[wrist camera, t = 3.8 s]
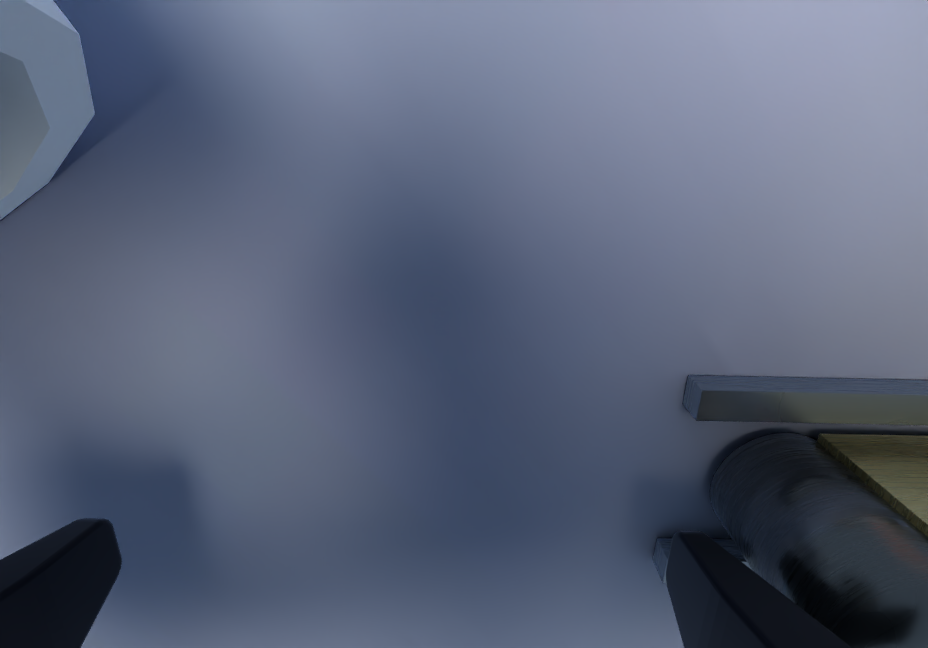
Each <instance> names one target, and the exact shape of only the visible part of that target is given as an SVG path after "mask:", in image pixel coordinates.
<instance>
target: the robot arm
mask: <svg viewBox="0 0 928 648" xmlns="http://www.w3.org/2000/svg"><path fill="white" fill-rule="evenodd" d="M121 563H122V558H121V554H120V550H119V547H118V543H117V539H116V536H115V532H114V529H113V526H112V524H111V522H110V521H109V520H106V519H95V518H84V519H79V520H76V521H74V522H72V523H70V524H68V525H66V526H65V527H63V528H61V529H59V530H57V531H55V532H53V533H51V534H49V535H47V536H45V537H43V538H41V539H39V540H38V541H36V542H34V543H32V544H30V545H28V546H26V547H24V548H22V549H20V550H18V551H16V552H14V553H13V554H11V555H9V556H7V557H5V558H3V559H1V560H0V648H81V646H82V644H83V642H84V640H85V638H86V636H87V634H88V632H89V631H90V629H91V627H92V625H93V623H94V621H95V619H96V617H97V615H98V613H99V611H100V609H101V608H102V606H103V604H104V602H105V600H106V598H107V596H108V594H109V592H110V590H111V588H112V586H113V585H114V583H115V581H116V579H117V577H118V575H119V572H120V569H121ZM666 582H667V587H668V591H669V595H670V598H671V602H672V605H673V609H674V612H675V616H676V620H677V623H678V627H679V630H680V634H681V638H682V641H683V645H684V648H852V647H851V646H849V645H848V644H847V643H846V642H844V641H843V640H842V639H840V638H839V637H838V636H837V635H835V634H834V633H833V632H831V631H830V630H829V629H828V628H826V627H825V626H824V625H822V624H821V623H820V622H819V621H817V620H816V619H815V618H813V617H812V616H811V615H809V614H808V613H807V612H806V611H804V610H803V609H802V608H800V607H799V606H798V605H797V604H795V603H794V602H793V601H791V600H790V599H789V598H788V597H786V596H785V595H784V594H782V593H781V592H780V591H779V590H777V589H776V588H775V587H773V586H772V585H771V584H769V583H768V582H767V581H766V580H764V579H763V578H762V577H760V576H759V575H758V574H757V573H755V572H754V571H753V570H751V569H750V568H749V567H748V566H746V565H745V564H744V563H742V562H741V561H740V560H739V559H737V558H736V557H735V556H733V555H732V554H731V553H729V552H728V551H727V550H726V549H724V548H723V547H722V546H720V545H719V544H718V543H717V542H715V541H714V540H713V539H711V538H710V537H709V536H708V535H706V534H705V533H703V532H700V531H677V532H676V533H675V534H674V535H673V538H672V542H671V547H670V552H669V557H668V562H667V567H666Z"/></svg>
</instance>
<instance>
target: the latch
mask: <svg viewBox="0 0 928 648" xmlns="http://www.w3.org/2000/svg"><path fill="white" fill-rule="evenodd" d="M710 501H711V505H712V508H713V510H714V512H715V514H716V516H717V517H718V519H719V520H720V522H721V523H722V525H723V526H724V528H725V529H726V531H727V532H728V534H729V535H730V537H731V538H732V540H733V541H734V543H735V544H736V546H737V548H738V549H739V551H740V552H741V554H742V555H743V557H744V558H745V560H746V561H747V563H748V564H749V566H750V567H751V569H752V570H753V571H754V572H755V573H757V574H758V575H759V576H760V577H762V578H763V579H764V580H766V581H767V582H768V583H769V584H771V585H772V586H773V587H775V588H776V589H777V590H779V591H780V592H781V593H782V594H784V595H785V596H786V597H788V598H789V599H790V600H791V601H793V602H794V603H795V604H797V605H798V606H799V607H800V608H802V609H803V610H804V611H806V612H807V613H808V614H809V615H811V616H812V617H813V618H815V619H816V620H817V621H819V622H820V623H821V624H822V625H824V626H825V627H826V628H828V629H829V630H830V631H831V632H833V633H834V634H835V635H837V636H838V637H839V638H840V639H842V640H843V641H844V642H846V643H847V644H848V645H849V646H851V647H852V648H928V436H908V435H860V434H819V437H818V440H817V441H816V440H814V439H812V438H810V437H807V436H804V435H800V434H794V433H777V434H770V435H766V436H762V437H759V438H757V439H754V440H752V441H750V442H748V443H745V444H744V445H742V446H741V447H739V448H737V449H736V450H735V451H734V452H732V453H731V454H730V455H729V456H728V457H727V458H726V459H725V460H724V461H723V462H722V464H721V465H720V466H719V468H718V469H717V471H716V473H715V475H714V477H713V480H712V483H711V488H710Z"/></svg>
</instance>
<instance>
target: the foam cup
mask: <svg viewBox="0 0 928 648" xmlns="http://www.w3.org/2000/svg"><path fill="white" fill-rule="evenodd" d="M94 115H95V111H94V105H93V100H92V95H91V90H90V85H89V80H88V75H87V70H86V65H85V60H84V55H83V49H82V44H81V39H80V34H79V33H78V32H77V31H76V29H75V28H74V27H73V25H72V24H71V23H70V22H69V20H68V19H67V18H66V16H65V15H64V14H63V12H62V11H61V10H60V9H59V7H58V6H57V5H56V3H55V2H54V1H53V0H0V220H1V219H2V218H4V217H5V216H6V215H7V214H9V213H10V212H11V211H13V210H14V209H15V208H17V207H18V206H19V205H20V204H22V203H23V202H24V201H26V200H27V199H28V198H30V197H31V196H32V195H33V194H35V193H36V192H37V191H39V190H40V189H41V188H43V187H44V186H45V185H46V184H48V183H49V182H50V180H51V179H52V177H53V176H54V174H55V173H56V171H57V170H58V168H59V167H60V165H61V164H62V162H63V161H64V159H65V158H66V156H67V155H68V153H69V152H70V150H71V149H72V147H73V146H74V144H75V143H76V141H77V140H78V139H79V137H80V136H81V134H82V133H83V131H84V130H85V128H86V127H87V125H88V124H89V122H90V121H91V119H92V118H93V116H94Z"/></svg>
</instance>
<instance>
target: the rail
mask: <svg viewBox="0 0 928 648" xmlns="http://www.w3.org/2000/svg"><path fill="white" fill-rule="evenodd" d="M683 405H684V406H685V407H686V409H687V410H688V411H689V412H690V413H691V415H692V416H693V417H694V418H695V420H696V421H743V422H791V423H838V424H886V425H928V380H886V379H839V378H792V377H745V376H698V375H688V379H687V384H686V390H685V395H684V400H683ZM713 540H714V541H715V542H717V543H718V544H719V545H720V546H722V547H723V548H724V549H726V550H727V551H728V552H729V553H731V554H732V555H733V556H735V557H736V558H737V559H739V560H740V561H741V562H742V563H744V564H745V565H746V566H748V567H749V568H750V569H751V567H750V566H749V564H748V563H747V561H746V560H745V558H744V557H743V555H742V554H741V552H740V551H739V549H738V548H737V546H736V544H735V543H734V541H733V540H726V539H713ZM671 542H672V538H657V541H656V547H655V552H654V557H653V562H654V564H655V566H656V568H657V571H658V573H659V575H660V578H661V580H662V582H663V583H667V582H666V567H667V562H668V557H669V552H670V547H671ZM751 570H752V569H751Z"/></svg>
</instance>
